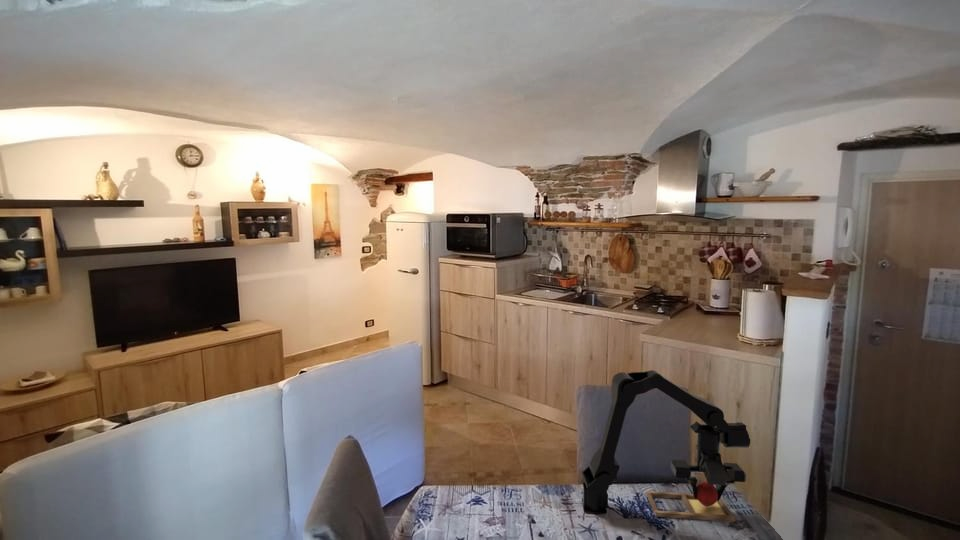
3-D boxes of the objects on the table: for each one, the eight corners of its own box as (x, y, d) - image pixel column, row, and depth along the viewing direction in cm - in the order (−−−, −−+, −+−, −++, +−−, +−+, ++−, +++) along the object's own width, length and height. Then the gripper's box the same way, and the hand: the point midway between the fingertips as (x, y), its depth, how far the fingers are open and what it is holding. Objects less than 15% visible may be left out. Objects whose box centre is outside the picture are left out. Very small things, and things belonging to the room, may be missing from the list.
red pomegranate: (719, 513, 128) (721, 486, 127) (697, 510, 129) (699, 483, 128) (713, 501, 134) (715, 475, 133) (692, 499, 135) (694, 473, 134)
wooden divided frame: (655, 516, 128) (655, 512, 128) (646, 494, 139) (646, 490, 139) (734, 521, 125) (734, 517, 125) (719, 499, 136) (719, 495, 136)
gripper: (682, 457, 123) (681, 513, 124) (756, 462, 121) (754, 518, 122) (670, 439, 134) (669, 491, 135) (738, 443, 132) (736, 495, 133)
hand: (706, 499), depth 131 cm, fingers closed on red pomegranate, 6 cm apart
